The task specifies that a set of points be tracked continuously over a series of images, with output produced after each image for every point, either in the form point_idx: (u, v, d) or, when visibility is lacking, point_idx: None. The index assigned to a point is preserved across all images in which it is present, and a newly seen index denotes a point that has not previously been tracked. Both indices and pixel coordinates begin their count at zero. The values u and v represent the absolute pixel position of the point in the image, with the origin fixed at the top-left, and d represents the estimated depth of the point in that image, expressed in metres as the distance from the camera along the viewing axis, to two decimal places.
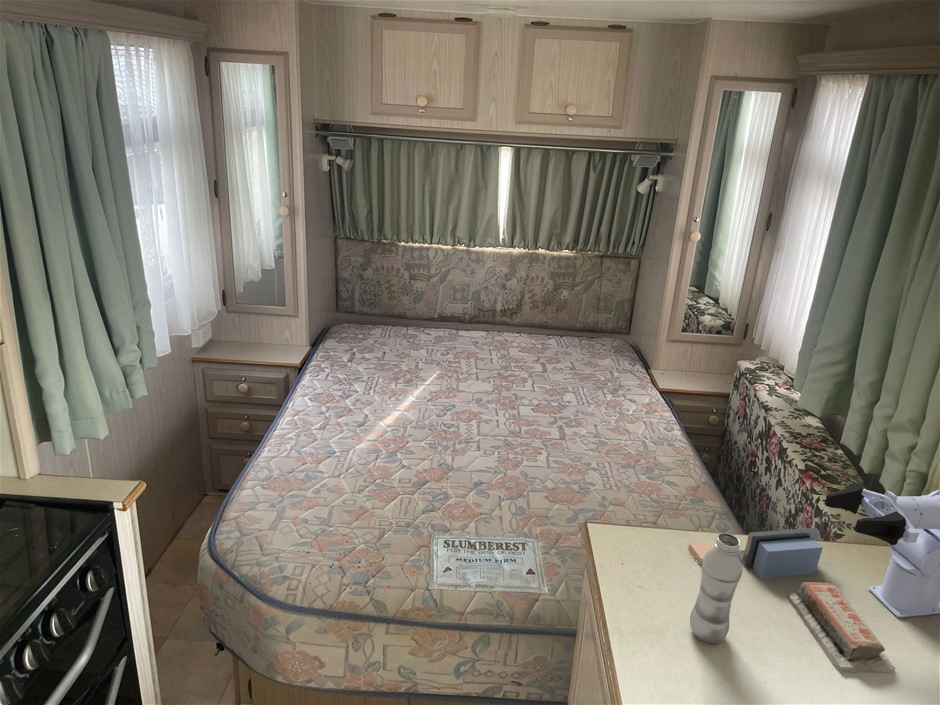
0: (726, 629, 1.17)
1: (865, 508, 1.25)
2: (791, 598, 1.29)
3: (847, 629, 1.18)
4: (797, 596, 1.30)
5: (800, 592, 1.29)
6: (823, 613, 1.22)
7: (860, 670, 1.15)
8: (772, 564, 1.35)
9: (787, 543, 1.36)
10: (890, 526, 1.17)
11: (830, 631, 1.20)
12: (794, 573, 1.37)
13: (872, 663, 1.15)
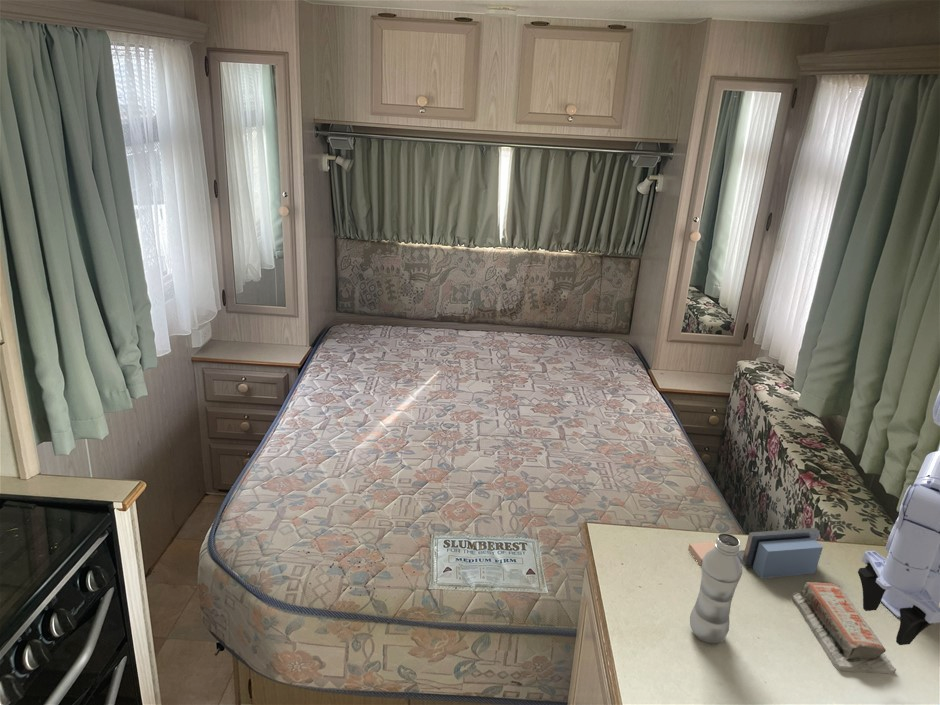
0: (726, 629, 1.17)
1: None
2: (794, 598, 1.29)
3: (847, 629, 1.18)
4: (801, 595, 1.30)
5: (804, 592, 1.29)
6: (825, 613, 1.22)
7: (860, 670, 1.14)
8: (772, 564, 1.35)
9: (787, 543, 1.36)
10: None
11: (832, 631, 1.20)
12: (794, 573, 1.37)
13: (872, 664, 1.15)
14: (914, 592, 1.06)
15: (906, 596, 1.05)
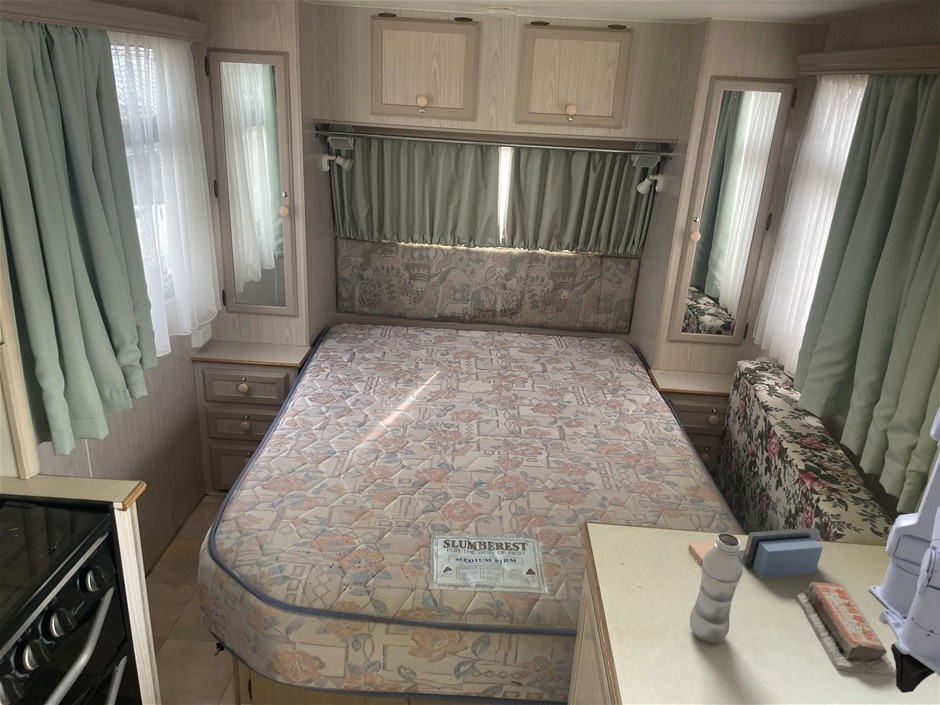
0: (726, 629, 1.17)
1: None
2: (798, 597, 1.29)
3: (849, 629, 1.18)
4: (805, 595, 1.30)
5: (808, 592, 1.29)
6: (827, 613, 1.22)
7: (859, 670, 1.14)
8: (772, 564, 1.35)
9: (787, 543, 1.36)
10: None
11: (833, 631, 1.20)
12: (794, 573, 1.37)
13: (872, 664, 1.15)
14: (935, 658, 1.02)
15: (927, 662, 1.01)
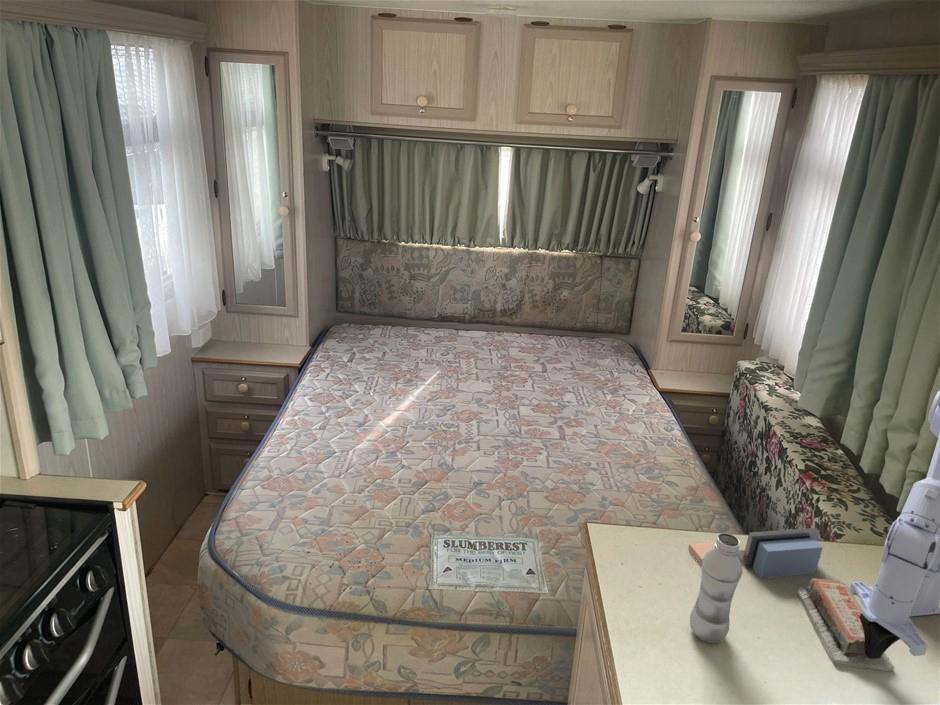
0: (726, 629, 1.17)
1: None
2: (799, 593, 1.30)
3: (847, 624, 1.19)
4: (806, 591, 1.31)
5: (809, 588, 1.30)
6: (826, 608, 1.23)
7: (856, 665, 1.15)
8: (772, 564, 1.35)
9: (787, 543, 1.36)
10: None
11: (832, 626, 1.21)
12: (794, 573, 1.37)
13: (870, 660, 1.16)
14: (899, 624, 1.09)
15: (891, 628, 1.08)
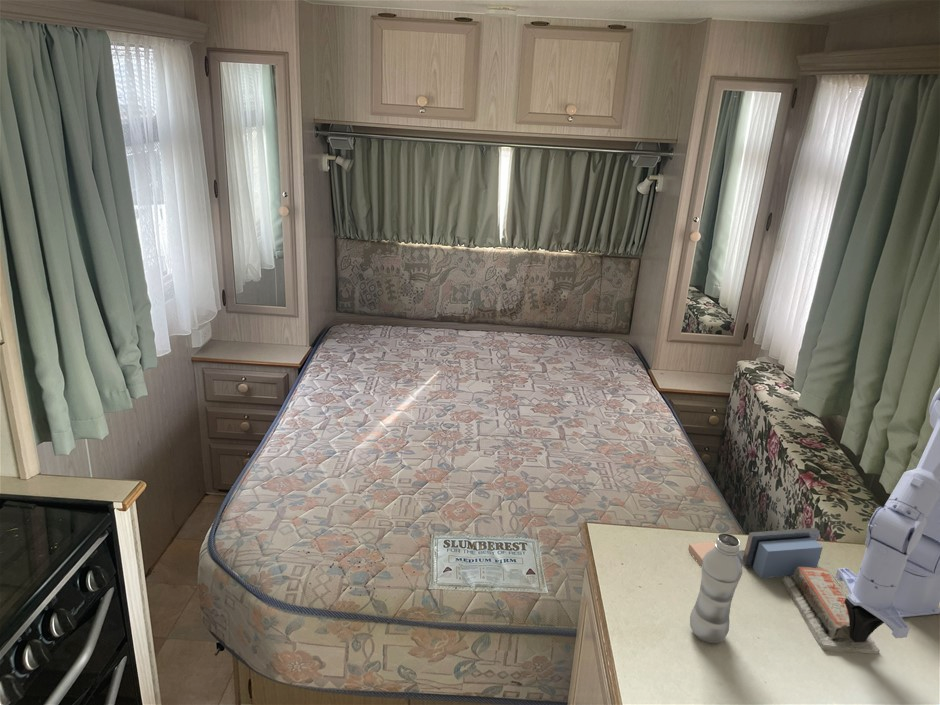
0: (726, 629, 1.17)
1: None
2: (785, 581, 1.33)
3: (833, 610, 1.22)
4: (792, 579, 1.34)
5: (794, 576, 1.33)
6: (813, 595, 1.26)
7: (844, 650, 1.19)
8: (772, 564, 1.35)
9: (787, 543, 1.36)
10: None
11: (819, 612, 1.24)
12: None
13: (856, 644, 1.19)
14: (882, 608, 1.12)
15: (875, 612, 1.11)
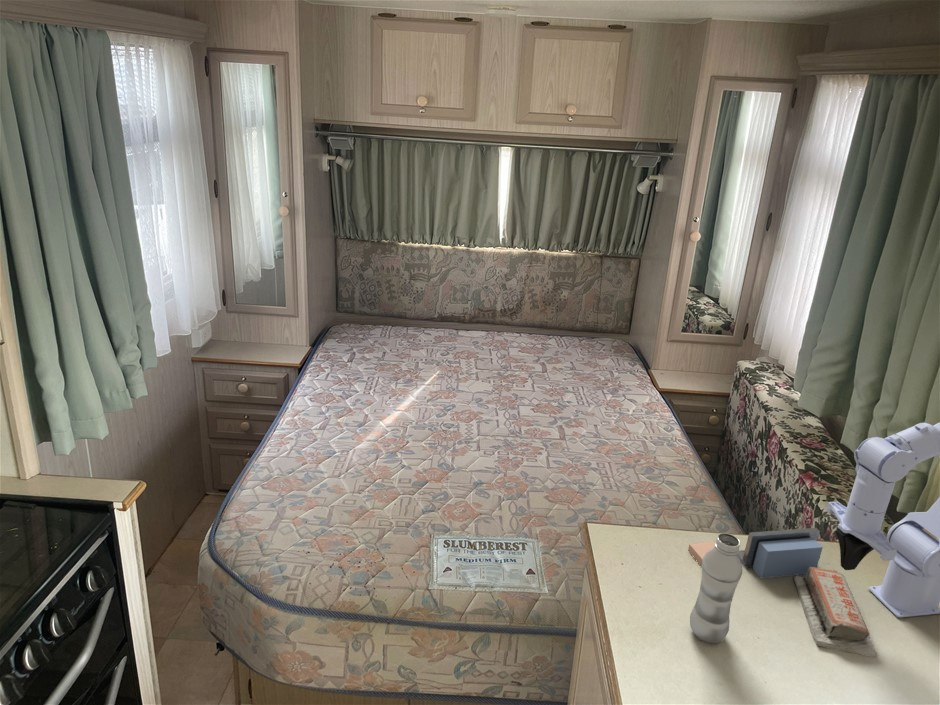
0: (726, 629, 1.17)
1: None
2: (796, 580, 1.34)
3: (834, 609, 1.22)
4: (803, 579, 1.34)
5: (806, 575, 1.34)
6: (817, 594, 1.27)
7: (839, 648, 1.19)
8: (772, 564, 1.35)
9: (787, 543, 1.36)
10: None
11: (820, 611, 1.25)
12: (794, 573, 1.37)
13: (853, 645, 1.19)
14: (871, 534, 1.18)
15: (864, 538, 1.18)
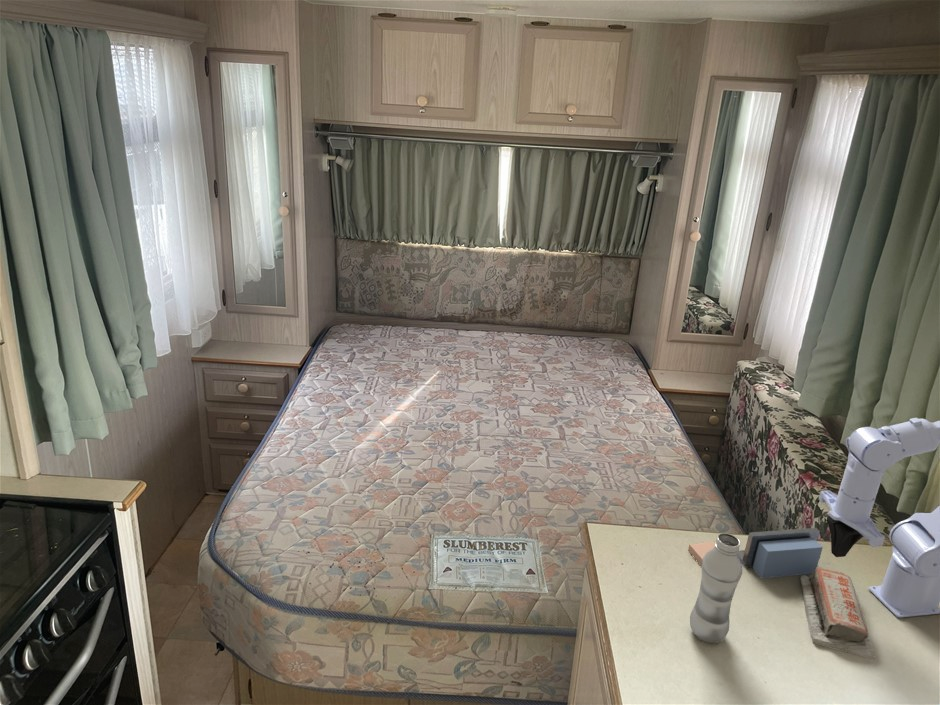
0: (726, 629, 1.17)
1: None
2: (801, 579, 1.34)
3: (834, 609, 1.22)
4: (809, 579, 1.34)
5: (812, 576, 1.34)
6: (820, 594, 1.27)
7: (835, 647, 1.19)
8: (772, 564, 1.35)
9: (787, 543, 1.36)
10: None
11: (821, 610, 1.25)
12: (794, 573, 1.37)
13: (851, 645, 1.19)
14: (860, 522, 1.22)
15: (853, 525, 1.21)
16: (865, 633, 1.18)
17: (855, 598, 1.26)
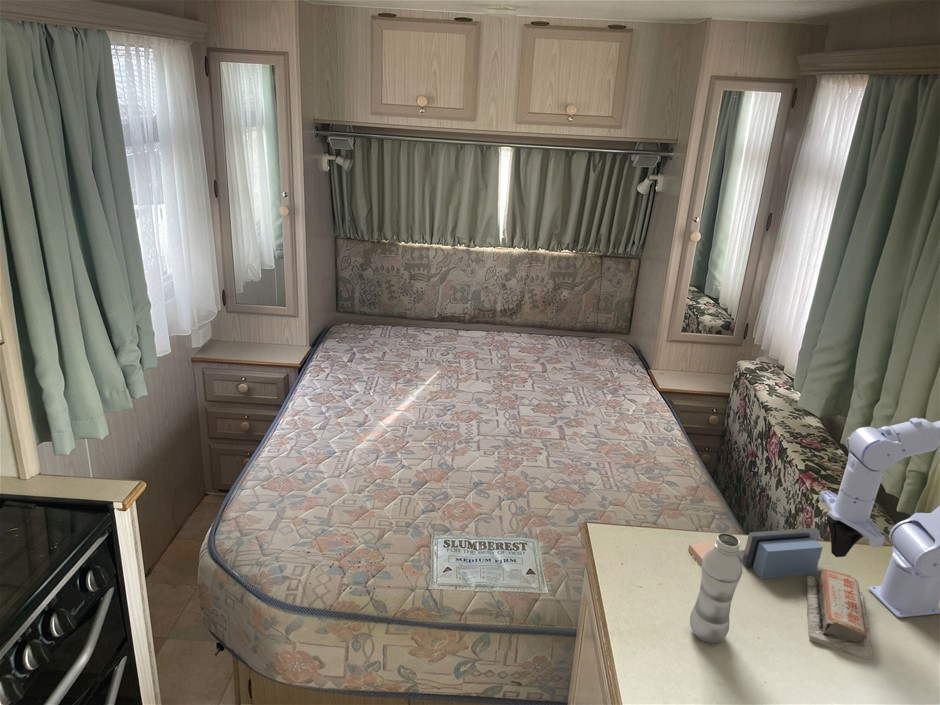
0: (726, 629, 1.17)
1: None
2: (807, 580, 1.34)
3: (834, 608, 1.22)
4: (815, 580, 1.34)
5: (818, 577, 1.34)
6: (822, 593, 1.27)
7: (832, 646, 1.19)
8: (772, 564, 1.35)
9: (787, 543, 1.36)
10: None
11: (822, 609, 1.25)
12: (794, 573, 1.37)
13: (849, 645, 1.19)
14: (860, 522, 1.22)
15: (853, 525, 1.21)
16: (863, 634, 1.18)
17: (858, 600, 1.26)
